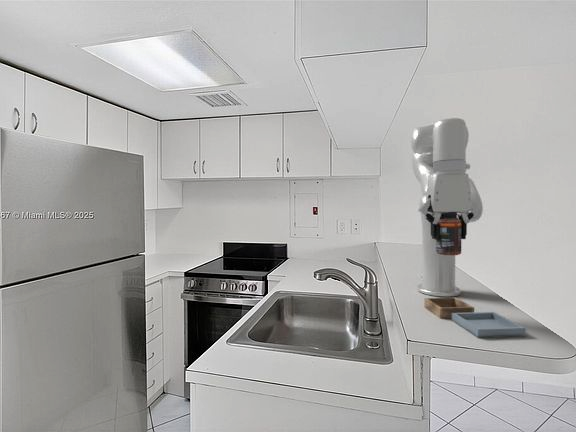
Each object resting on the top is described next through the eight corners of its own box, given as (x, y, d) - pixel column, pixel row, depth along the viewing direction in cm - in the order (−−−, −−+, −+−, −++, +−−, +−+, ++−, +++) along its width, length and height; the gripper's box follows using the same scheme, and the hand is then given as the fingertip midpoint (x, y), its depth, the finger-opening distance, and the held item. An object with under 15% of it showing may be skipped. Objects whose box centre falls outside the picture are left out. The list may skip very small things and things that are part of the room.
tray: (451, 320, 80) (451, 313, 80) (493, 319, 81) (493, 311, 81) (477, 337, 70) (478, 329, 70) (525, 336, 70) (525, 328, 70)
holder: (424, 307, 90) (424, 298, 90) (455, 306, 91) (455, 297, 90) (440, 318, 82) (440, 308, 82) (474, 317, 82) (474, 307, 82)
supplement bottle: (458, 252, 88) (459, 209, 87) (463, 256, 82) (464, 210, 81) (434, 251, 89) (434, 210, 89) (437, 255, 84) (438, 210, 83)
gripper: (473, 169, 89) (472, 236, 90) (409, 170, 88) (409, 238, 89) (491, 166, 81) (490, 239, 82) (422, 167, 80) (422, 241, 81)
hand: (448, 238), depth 85 cm, fingers closed on supplement bottle, 6 cm apart
